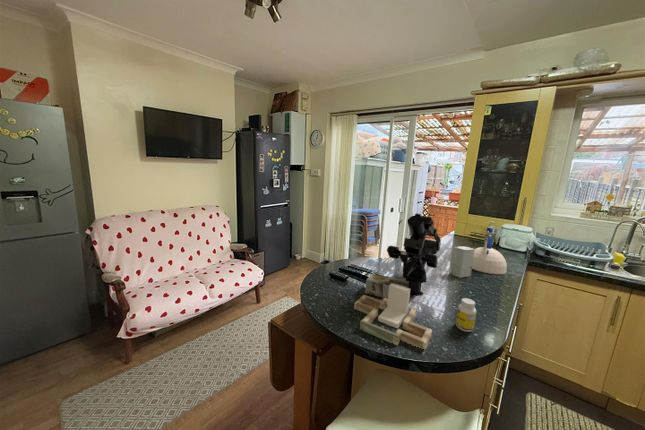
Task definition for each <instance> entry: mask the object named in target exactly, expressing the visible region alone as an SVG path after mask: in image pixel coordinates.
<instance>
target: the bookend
mask: <svg viewBox="0 0 645 430" xmlns="http://www.w3.org/2000/svg"><path fill="white" fill-rule="evenodd" d="M410 297H411V295H410V289H409V288H406V287H403V286H399V285H396V284H393V283H391V284H390V285H389V294H388V303H387V306H386V307H385V308H384V309H383V311H382V312H381V313H380V314H378V316H377V322H380V323H383V324H384V325H387V326H391V327H393V328H395V329H397V330H398V329H399V327H400V326H401V324H403V321H404V320H405V318H406V317H407V315H408V314H409V313H408V312H409V304H410Z"/></svg>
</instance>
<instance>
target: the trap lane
mask: <svg viewBox="0 0 645 430" xmlns="http://www.w3.org/2000/svg"><path fill="white" fill-rule="evenodd" d="M387 303H388V299H387V298H382V299H378V298H374V297H371V296H368V295H365V294H363V295H362V296H360V298H359V299H357V300H356V301H355V302H354V306H353V307H354V308H353V309H354V310H356V311H359V312H361V313H363V314H366V315H365V317H364V318H363V319H361V320H360V322H359V330H360V331H362V332H365V333H367V334H369V335H372V336H375V337H377V338H379V339H380V340H383V341H386V342H388V343H391V344H392V343H393V345H395V346H399V344H400V342H404V343H405V342H406V344H407V345H410V344H411V345H410V346H413V347H415V346H416V347H415V348H417V347H419V348H418V349H420V348H421V349H420V350H422V349H424V350H423V351H426V350H427V348H428V346H429V343H430V340H431V338H432V334H433V333H432V332H433V330H432V329H431V328H428V327H426V326H424V325H420V324H418V323H415V322H413V321H414V319H415V318H416V316H417V315H418V314H417V312H418V308H416V307H412V308H411V309H410V311H408V312H409V313H408V314H407V316H406V317H405V319H404V320H403V322H402V329H403V330H402V329H399V328H398V329H397V330H396V332H393V331H391V330H388V329H386V328H383V327H380V326H379V325H376V324H373V322H374V320H375V319H376V318H378V317H379V309H380V310H383V311H384V310H385V309H386V308H387ZM404 330H406V331H404ZM400 340H401V341H400ZM425 349H426V350H425Z"/></svg>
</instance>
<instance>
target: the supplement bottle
mask: <svg viewBox="0 0 645 430" xmlns="http://www.w3.org/2000/svg"><path fill="white" fill-rule="evenodd" d="M475 307H476V301H474V300H473V299H471V298H469V297H468V298H467V297H465V298H464V297H463V298H462V299H461V301H460V304H459V305H458V307H457V313H456V319H455V325H456V327H457V328H458V329H459V330H461V331H463V332H465V333H466V332H468V333H469V332H470V333H472V332H474V328H475V324H476V323H475V322H476V319H477V309H476V308H475Z"/></svg>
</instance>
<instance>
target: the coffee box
mask: <svg viewBox="0 0 645 430" xmlns="http://www.w3.org/2000/svg"><path fill="white" fill-rule="evenodd" d="M391 283H393V284H396V285H399V286H403V287H406V288H409V281H406V280H405V279H399V278H396V277H391V276H386V275H382V274H378V273H373V272H371V275H369V277H367V278H366V280H365V288H364V290H365V291H364V293H365V294H367V295H370V296H375V297H377V298H381V299H384V298H387V299H388V294H389V285H390V284H391Z"/></svg>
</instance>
